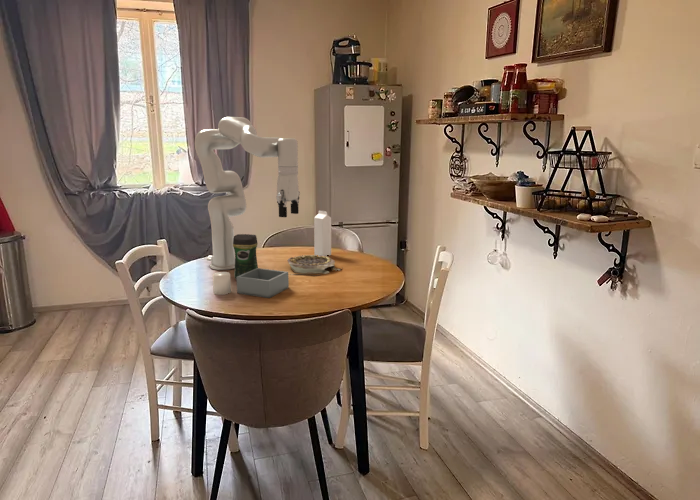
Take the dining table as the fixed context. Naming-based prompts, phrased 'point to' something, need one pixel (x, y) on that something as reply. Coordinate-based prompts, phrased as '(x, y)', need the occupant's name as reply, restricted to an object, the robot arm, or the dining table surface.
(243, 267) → the coffee jar
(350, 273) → the dining table surface
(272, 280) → the tub
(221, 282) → the cream rounded block
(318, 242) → the milk
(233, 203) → the robot arm
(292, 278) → the dining table surface
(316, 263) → the pie
